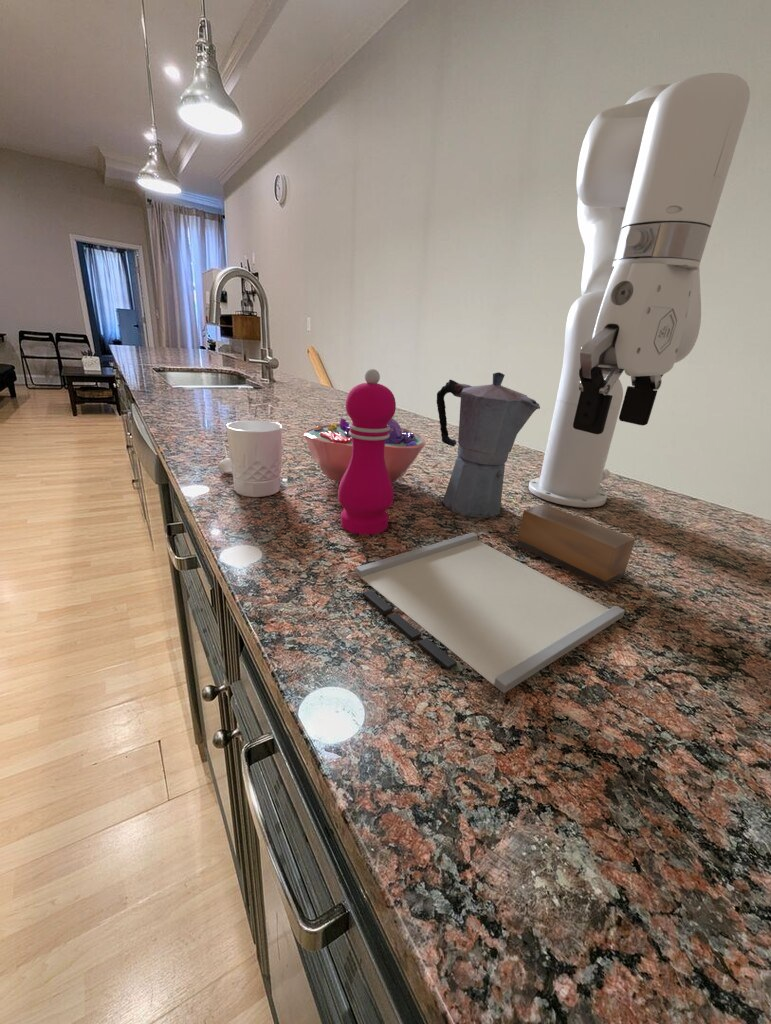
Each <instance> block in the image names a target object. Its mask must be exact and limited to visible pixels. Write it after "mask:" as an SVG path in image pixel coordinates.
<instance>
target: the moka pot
mask: <svg viewBox="0 0 771 1024" xmlns="http://www.w3.org/2000/svg"><path fill="white" fill-rule="evenodd" d="M505 376H506V375H505V374H504V373H502V372H499V371H498V372H494V373H492V384H483V385H470V384H466V383H459V382H457V381H456V380H453V379H449V380H448V381H447V382H446V383H445V384H444V385H443V386H442V387H441V389H440V390H438V391H437V393H436V407H437V413H438V419H439V426H440V427H439V429H440V433H441V434H440V436H441V442H442V444H445V445H448V446H450V447H453V448H454V447H455V446H456V445H457V443H458V445H457V446H458V447H457V457H456V459H455V461H454V465H453V469H452V472H451V474H450V478H449V481H448V484H447V487H446V491H445V493H444V496H443V500H442V503H443V505H444V506H445V508H447V509H448V510H449V511H451V512H453V513H455V514H458V515H461V516H464V517H469V518H492V517H494V516H497V515H499V514H501V507H502V497H503V487H504V479H505V467H506V463H507V462H508V458H509V454H510V453H511V452H512V449H513V448H514V447H513V446H514V444H515V441H516V439H517V436H518V434H519V433H520V431H521V430H522V429H523V428H524V426H525V425H526V423H527V422H528V421H529V419H530V418H531V416H532V415H533V414H534V413H535V411H537V410H540V409H541V406H540V403H538V402H537V400H536V399H533V398H530V397H529V396H528V395H526V394H524V393H522V392H519V391H516V390H514V389H511V388H508V387H506V386H503V385H502V383H503V380H504V378H505ZM449 393H450V394H452V396H453V397H456V398H460V403H459V406H460V407H459V421H458V436H457V437H458V439H457V440H456V439H452V438H450V437H449V431H448V428H447V426H448V424H447V423H448V421H447V419H448V418H447V411H446V408H447V407H446V402H445V396H446V395H447V394H449Z"/></svg>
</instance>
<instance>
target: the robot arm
mask: <svg viewBox="0 0 771 1024" xmlns="http://www.w3.org/2000/svg"><path fill="white" fill-rule="evenodd" d="M750 96H751V92H750V87H749V84H748V82H747V81H746V80H745V79H744V78H743V77H741V76H740V75H738V74H734V73H728V72H727V73H726V72H709V73H708V72H707V73H702V74H697V75H692V76H689V77H686V78H682V79H680V80H678V81H676V82H674V83H664V84H663V83H662V84H661V83H660V84H656V85H650V86H647V87H644V88H643V89H641V90H639V91H637V92H636V93H635V94H634V95H632V96H631V97H630V98H629V99H628V100H627V101H626V103H624V104H623V105H618V106H615V107H611V108H608V109H605V110H602V111H601V112H599V113H598V114H596V115H595V117H594V119H592V121H591V123H590V125H589V126H588V128H587V131H586V134H585V136H584V138H583V141H582V144H581V148H580V152H579V156H578V163H577V169H576V170H577V171H576V180H575V181H576V182H575V183H576V186H575V187H576V193H577V209H576V215H577V226H578V230H579V233H580V238H581V240H582V243H583V246H584V254H583V255H584V257H583V265H582V273H581V280H580V281H581V283H580V285H581V286H580V291H581V292H580V293H581V295H580V296H579V297H578V298H577V299H576V300H574V302H573V303H572V304H571V306H570V308H569V311H568V313H567V317H566V318H567V319H566V323H565V331H564V332H565V333H564V347H563V348H564V349H563V357H562V358H563V360H562V366H561V372H560V373H561V374H560V378H559V385H558V389H557V394H556V399H555V404H554V409H553V413H552V418H551V423H550V427H549V433H548V438H547V442H546V446H545V452H544V455H543V456H544V457H543V461H542V466H541V471H540V476H539V477H536V478H533V479H531V480H530V481H529V483H528V490H529V492H530V493H531V494H532V495H534V496H535V497H537V498H540V499H541V500H544V501H546V502H550V503H552V504H557V505H561V506H566V507H571V508H572V507H574V508H588V509H589V508H597V507H601V506H604V505H605V504H606V503H607V499H608V495H607V493H606V492H605V491H604V490H603V489H601V488H600V486H601V481H603V480H604V481H605V480H607V479H609V478H610V476H611V473H610V472H611V471H610V470H609V469H608V468H605V466H606V463H607V459H608V455H609V452H610V449H611V445H612V441H613V437H614V433H615V430H616V425H617V422H618V420H619V421H620V422H624V423H629V424H632V425H638V426H647V425H648V423H649V420H650V417H651V413H652V412H653V407H654V404H655V401H656V397H657V394H658V390H660V388H661V386H662V378H663V376H664V375H665V374H667V373H669V372H670V371H671V370H672V369H673V368H674V365H675V364H676V363H678V362H681V361H682V360H684V359H685V358H686V357H687V356H689V354H690V353H691V352H692V350H693V349H694V347H695V345H696V343H697V340H698V337H699V334H700V328H701V323H702V297H701V275H700V266H701V261H702V258H703V255H704V252H705V249H706V245H707V242H708V238H709V235H710V233H711V229H712V226H713V223H714V220H715V216H716V213H717V210H718V206H719V204H720V199H721V197H722V193H723V191H724V186H725V183H726V180H727V176H728V173H729V171H730V167H731V165H732V162H733V159H734V154H735V151H736V147H737V144H738V141H739V138H740V134H741V131H742V127H743V124H744V121H745V117H746V115H747V111H748V106H749V103H750V98H751V97H750ZM623 372H624V373H625V375H626V376H627V377H628V376H629V377H630V382H631V386H630V385H629V386H626V391H625V392H624V388H623V384H622V382H621V380H620V379H619V378H620V377H621V375H622V374H623ZM624 393H625V394H624Z"/></svg>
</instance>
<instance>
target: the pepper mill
mask: <svg viewBox="0 0 771 1024" xmlns="http://www.w3.org/2000/svg"><path fill="white" fill-rule="evenodd" d="M380 379H381V375H380V372H379V371H378V370H377V369H375V368H370V369H368V370H366V371H365V373H364V380H365V382H361V383H359V384H356V385H355V386H353V387H352V388H351V389H350V390H349V391H348V393H347V395H346V399H345V412H346V415H348V417H349V418H350V420H351V422H349V423H350V424H349V427H350V431H349V435H350V436H351V437H352V456H351V460H350V463H349V466H348V468H347V470H346V472H345V473H344V475H343V477H342V479H341V482H339V486H338V491H337V500H338V502H339V505H340V506H341V507H342V508H343V510H341V512H340V526H341V528H342V529H344V530H345V531H347V532H349V533H351V534H357V535H376V534H381V533H382V532H385V531H386V530H387V529H388V527H389V513H388V512H387V510H388V509H389V508H390V507H391V506H392V504H393V503H394V496H395V495H394V493H395V491H394V487H393V482H392V481H391V479H390V476H389V473H388V471H387V468H386V464H385V459H384V447H385V441H386V439H387V438H389V436H390V435H389V430H390V426H389V425H387V424H388V422H389V420H390V419H391V418H393V417H394V415H395V413H396V410H397V409H396V408H397V404H396V403H397V402H396V398H395V394H393V392H392V391H391V390H390V388H388V387H387V386H385V385H384V384H381V383H379V382H380Z"/></svg>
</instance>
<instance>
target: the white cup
mask: <svg viewBox="0 0 771 1024" xmlns="http://www.w3.org/2000/svg"><path fill="white" fill-rule="evenodd" d="M225 429H226V433H227V434H226V435H227V444H228V445H227V446H228V452H229V458H230V461H231V469H232V479H233V489H234V491H235V493H236V494H238V495H240V496H243V497H249V498H261V497H262V498H263V497H268V496H272V495H275V494H277V493H278V492H279V491H280V489H281V473H282V463H283V462H282V461H283V424H280V423H279V422H275V421H269V420H262V419H261V420H259V419H258V420H257V419H248V420H247V419H245V420H237V421H236V420H235V421H232V422H229V423H227V424H226V427H225Z"/></svg>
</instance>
